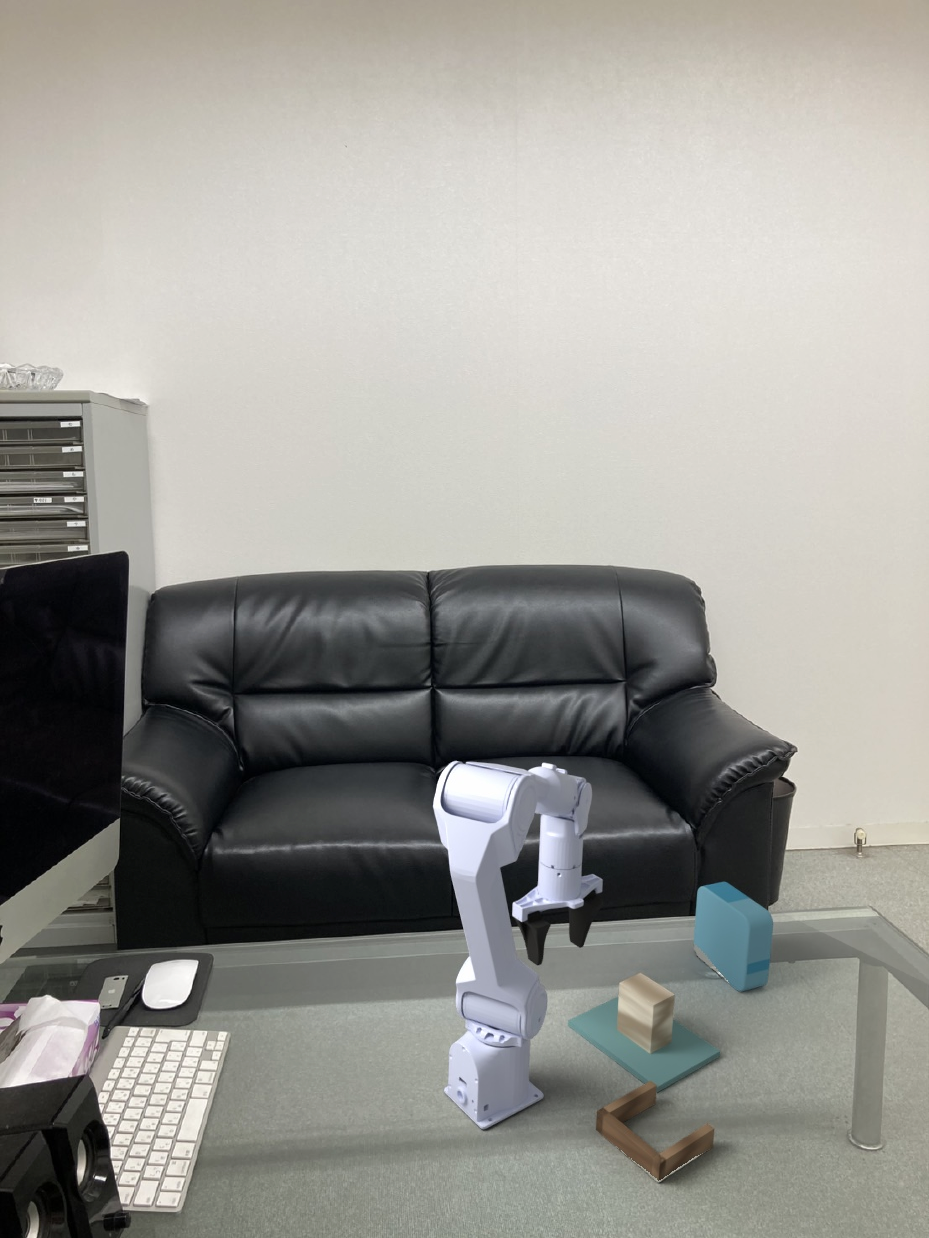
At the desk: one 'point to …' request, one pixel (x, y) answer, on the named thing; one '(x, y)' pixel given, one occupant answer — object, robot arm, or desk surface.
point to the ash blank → (645, 1012)
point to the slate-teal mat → (656, 1067)
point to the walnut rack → (640, 1151)
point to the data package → (734, 935)
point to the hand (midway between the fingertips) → (556, 952)
